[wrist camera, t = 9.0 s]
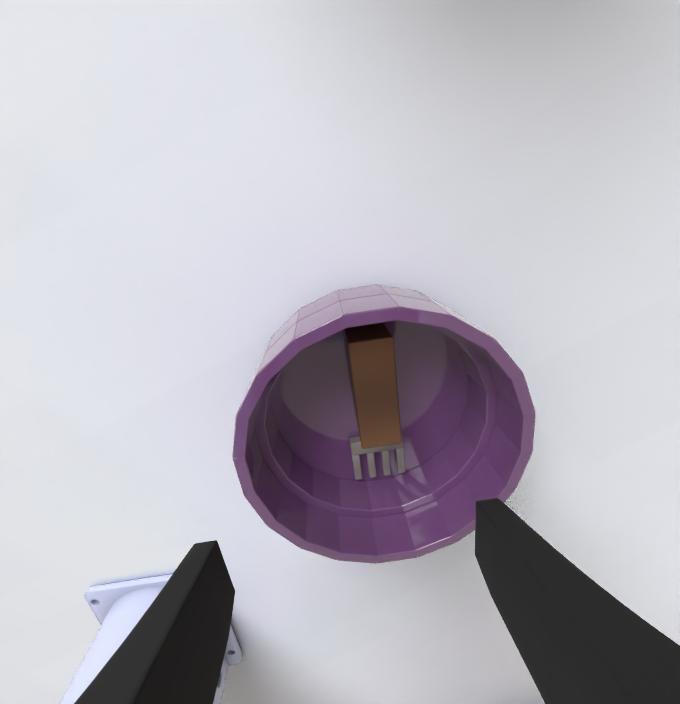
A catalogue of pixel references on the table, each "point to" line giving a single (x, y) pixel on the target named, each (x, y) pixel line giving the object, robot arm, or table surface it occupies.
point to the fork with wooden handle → (374, 397)
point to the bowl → (416, 428)
